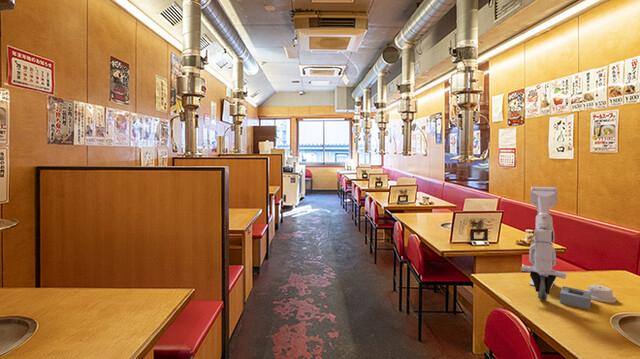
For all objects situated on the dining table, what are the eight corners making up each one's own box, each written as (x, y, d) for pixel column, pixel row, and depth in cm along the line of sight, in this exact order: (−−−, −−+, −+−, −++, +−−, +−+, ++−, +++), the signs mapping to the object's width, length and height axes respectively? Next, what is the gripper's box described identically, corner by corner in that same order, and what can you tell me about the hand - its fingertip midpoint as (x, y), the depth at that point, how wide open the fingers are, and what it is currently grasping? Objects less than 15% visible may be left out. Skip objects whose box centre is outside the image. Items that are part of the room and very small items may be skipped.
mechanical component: (584, 291, 139) (582, 298, 131) (585, 281, 139) (583, 287, 131) (616, 297, 132) (616, 305, 125) (616, 287, 132) (616, 294, 124)
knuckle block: (562, 295, 134) (562, 286, 134) (591, 301, 128) (591, 291, 128) (559, 302, 127) (560, 292, 127) (589, 309, 121) (590, 299, 121)
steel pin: (538, 295, 132) (539, 274, 131) (547, 298, 130) (548, 275, 129) (537, 298, 130) (537, 276, 129) (546, 300, 128) (546, 277, 127)
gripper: (520, 257, 131) (519, 290, 132) (565, 264, 121) (564, 300, 122) (523, 253, 136) (523, 285, 137) (567, 260, 126) (566, 294, 127)
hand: (542, 292), depth 130 cm, fingers closed on steel pin, 3 cm apart
